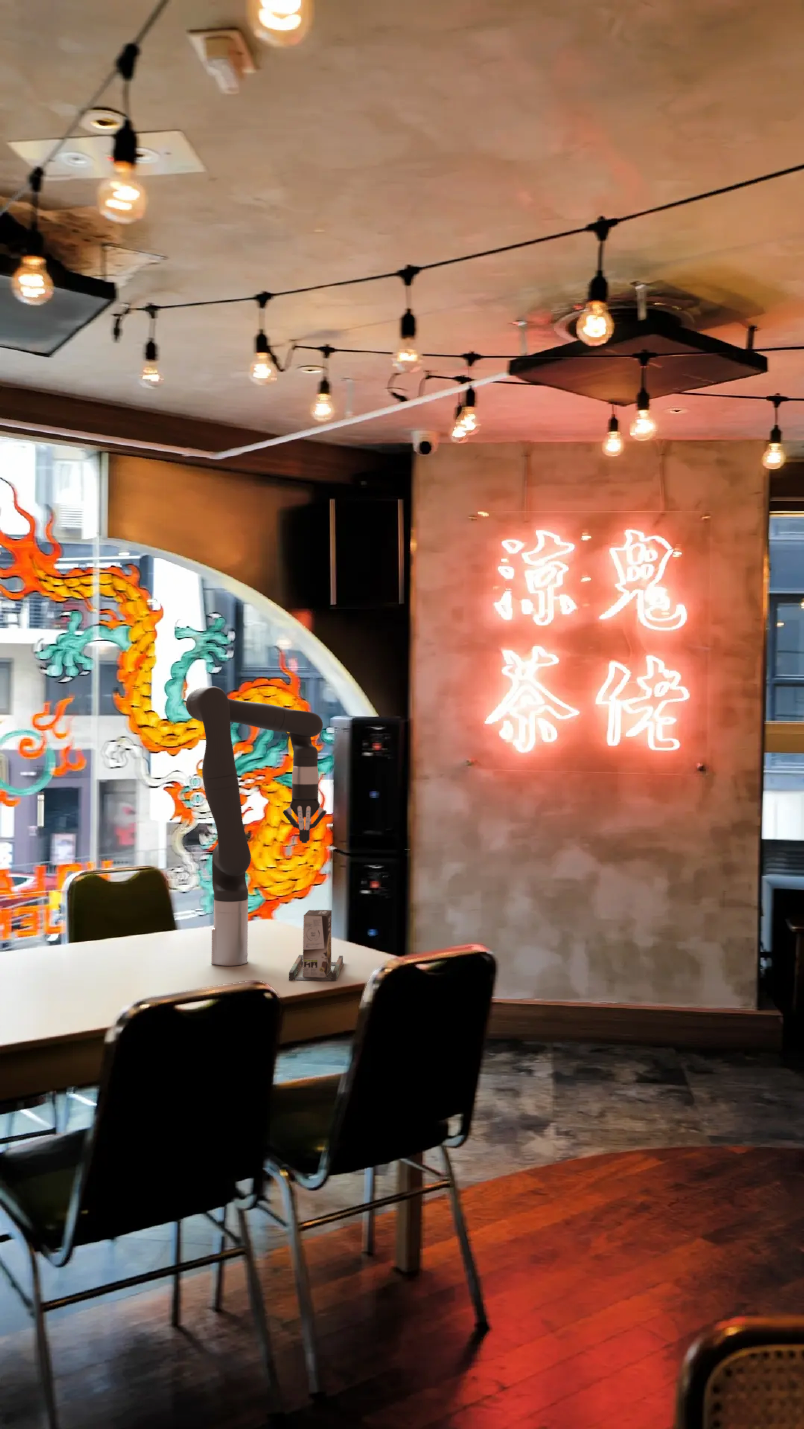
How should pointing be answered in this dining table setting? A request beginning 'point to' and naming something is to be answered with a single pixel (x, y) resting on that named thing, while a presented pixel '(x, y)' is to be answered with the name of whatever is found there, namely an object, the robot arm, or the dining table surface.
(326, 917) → the coffee box
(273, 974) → the dining table surface
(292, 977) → the lane frame
